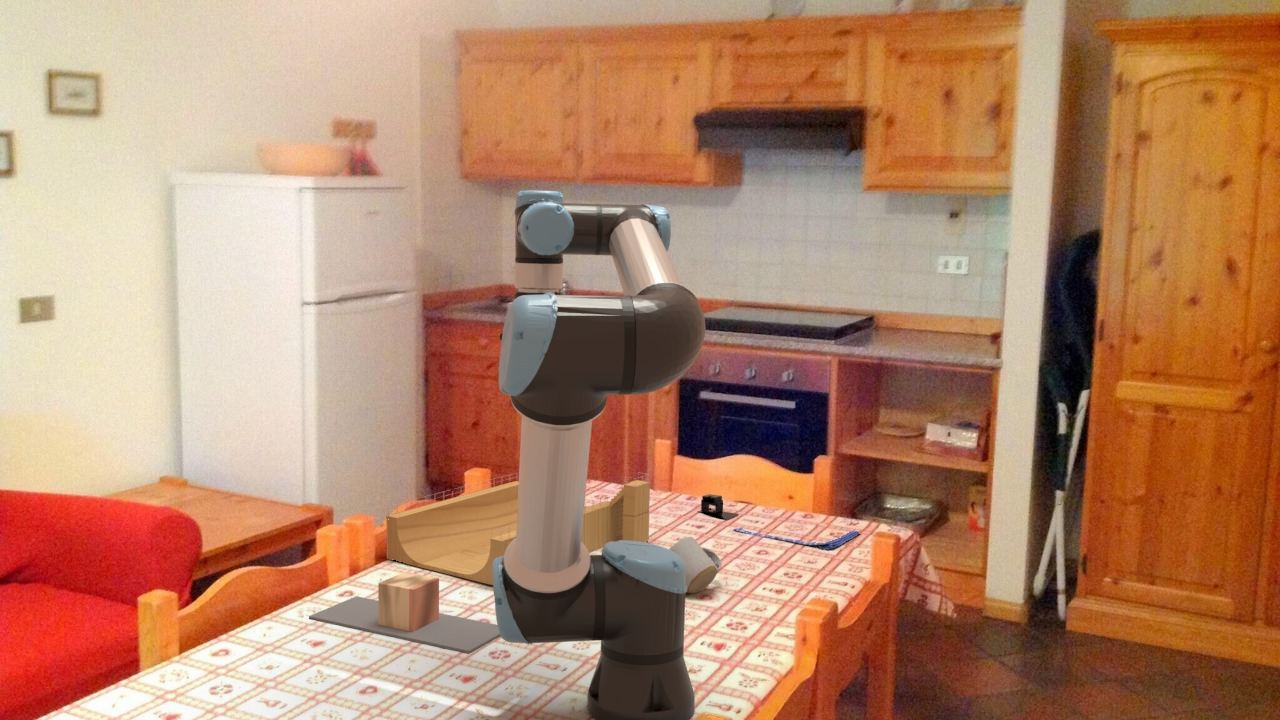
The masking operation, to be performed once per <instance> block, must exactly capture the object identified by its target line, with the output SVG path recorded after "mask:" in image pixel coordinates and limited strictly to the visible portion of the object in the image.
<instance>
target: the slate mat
mask: <svg viewBox="0 0 1280 720" xmlns="http://www.w3.org/2000/svg"><path fill="white" fill-rule="evenodd" d="M308 619H310V620H314V621H319V622H323V623H328V624H332V625H337V626H342V627H346V628H350V629H351V628H352V629H356V630H360V631H365V632H369V633H375V634H377V635H382V636H388V637H391V638H392V637H393V638H397V639H402V640H406V641H410V642H414V643H419V644H423V645H429V646H433V647H439V648H443V649H448V650H452V651H456V652H461V653H466V654H471V653H473V652H474V651H476V650H478V649H480V648H481V647H483V646H485V645H487V644H488V643H490V642H492V641H494V640H495V639H497V638H499V637H501V636H500V634H499V630H498V625H497V624H495V623H491V622H485V621H480V620H475V619H471V618H465V617H461V616H460V617H459V616H455V615H451V614H447V613H446V614H445V613H441V612H439V619H438V620H436V621H434V622H432V623H430V624H428V625H426V626H424V627H422V628H420V629H418V630H416V631H414V632H411V631H407V630H402V629H397V628H393V627H388V626H383V625H378V600H377V599H373V598H367V597H361V596H359V595H358V596H357V595H356V596H354V597H351V598H349V599H347V600H344V601H342V602H339V603H338V604H334V605H333V606H330V607H328V608H327V607H326V608H325V609H323V610H321V611H317V612H315V613H313V614H311V615H308Z"/></svg>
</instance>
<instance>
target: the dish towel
mask: <svg viewBox="0 0 1280 720" xmlns="http://www.w3.org/2000/svg"><path fill="white" fill-rule="evenodd" d="M732 531H733V532H738V533H741V534H746V535H749V536H754V537H760V538H765V539H770V540H779V541H783V542H788V543H792V544H799V545H801V546H807V547H811V548H816V547H817V548H818V549H817V548H816V549H817V550H823V549H825V550H824V551H829V550H833V549H832V548H834V549H835V548H837V547H840V546H842V545H843V543H844V544H845V543H847V542H848V540H849V541H850V539H851V540H852V539H854V538H856V537H857V535H858V534H859V532H860V531H858V530H852V531H851V530H849V531H850V532H849V533H847V534H846V535H844V536H842V537H841V538H838V537H837V538H838V539H835V538H834V539H835V540H833V539H831V540H832V541H830V540H828V542H827V541H824V542H825V543H823V542H818V543H816V541H810V542H809V541H802V540H799V539H791V538H788V537H787V538H786V537H780V536H773V535H771V534H770V535H769V534H761V533H758V532H751V531H749V530H745V529H743V527H740V528H733V529H732ZM855 536H856V537H855ZM858 536H859V535H858ZM846 541H847V542H846Z"/></svg>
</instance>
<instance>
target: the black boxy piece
mask: <svg viewBox="0 0 1280 720" xmlns="http://www.w3.org/2000/svg"><path fill="white" fill-rule="evenodd" d="M700 505H701V507H700V510H699V511H697V513H699V514H701V515H704V516H707V517H711V518H713V519H714V518H715V519H718V520H722V521H729V520H733V519H735V518H737V517H739V515H740V514H739V513H736V512H728V511H724V500H723V496H722V495H719V494H712V493H711V494H710V493H709V494H705V495H702V497H701V500H700ZM710 506H712V507H714V508H712V507H710Z"/></svg>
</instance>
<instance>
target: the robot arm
mask: <svg viewBox="0 0 1280 720" xmlns="http://www.w3.org/2000/svg"><path fill="white" fill-rule="evenodd" d="M515 198H516V199H515V209H514V216H515V223H514V224H515V227H514V228H515V230H514V232H515V233H514V234H515V235H514V238H515V239H514V240H515V241H514V243H515V244H514V245H515V252H514V253H515V258H514V288H515V289H517V291H516V292H515V293H514V294H513V295H514V297H513V298H514V299H513V301H511V303H510V305H509V307H508V309H507V312H506V315H505V320H504V325H503V329H502V332H501V333H500V334H499V340H500V341H501V342H500V343H501V344H500V355H499V363H498V388H499V389H500V390H499V391H500V392H501V394H503V395H508V396H509V398H510V402H511V404H512V406H513V408H514V409H515V410H516V412H517V413H518V414H519V415H520V416H521V423H520V424H521V427H520V429H521V430H520V448H519V449H520V450H519V467H518V469H519V470H518V471H519V472H518V482H519V488H518V509H517V530H516V538H515V539H514V540H512V542H511V543H510V544H509V545H508V547H507V549H506V551H505V554H504V556H501V557H498V558H495V559H494V561H493V566H492V572H493V585H492V587H493V588H492V589H493V596H494V609H495V618H496V623H497V624H496V625H498V630H499V634H500V636H499V637H501V638H502V639H503V641H505V642H507V643H512V644H513V643H514V644H527V645H533V644H546V643H547V644H548V643H549V644H550V643H568V642H592V641H594V642H596V641H600V656H599V658H598V662H597V664H596V666H595V670H594V672H593V675H592V678H591V681H590V683H589V686H588V689H587V697H586V700H587V701H586V710H587V712H588V714H589V716H590V717H591V718H593V719H594V720H690V719H692V717H693V716H694V715H695V702H696V701H695V698H696V696H695V691H694V688H693V684H692V682H691V678H690V675H689V672H688V668H687V665H686V661H685V657H684V650H685V649H684V648H685V647H684V644H685V622H686V621H685V615H686V613H685V612H686V593H688V592H687V587H686V575H685V564H684V562H683V560H682V559H681V557H680V556H679V555H678V554H676V553H675V552H673V551H671V550H669V549H670V548H667V547H664V546H661V545H658V544H654V543H650V542H648V543H646V541H645V542H639V541H628V540H623V539H622V540H619V541H616V542H613V541H612V542H608V543H606V544H605V545H604V547H603V548H601V554H590V553H589V552H588V550H587V548H586V546H585V545H584V544H583V543H582V542H581V536H582V525H583V515H584V508H585V505H586V502H585V501H586V494H587V493H586V492H587V480H588V469H589V458H590V450H591V449H590V448H591V438H592V437H591V436H592V427H593V425H592V424H593V421H594V420H595V419H597V418H598V417H599V416H600V415H601V414H602V413H604V410H605V409H606V406H607V402H608V396H613V395H614V396H616V395H617V396H618V395H622V396H624V395H626V396H627V395H643V394H649V393H653V392H657V391H659V390H661V389H663V388H665V387H667V386H669V385H671V384H672V383H674V382H675V381H677V380H678V379H679V378H681V377H682V376H683V375H684V374H685V373H686V372H687V371H688V370H689V369H690V368H691V366H692V365H693V364H694V362H695V361H696V360H697V358H698V357H699V355H700V353H701V349H702V346H703V344H704V341H705V336H706V320H705V319H706V317H705V313H704V311H703V309H702V307H701V305H700V302H699V300H698V298H697V296H696V295H695V294H694V293H693V292H692V291H691V290H690V289H689V288H687V287H686V286H684V285H682V282H681V280H680V278H679V275H678V274H677V272H676V269H675V267H674V264H673V263H672V261H671V257H670V255H669V254H668V252H669V249H670V245H671V237H672V236H671V235H672V229H671V228H672V226H671V225H672V224H671V219H670V217H671V216H670V212H669V211H668V209H667V208H665V207H663V206H661V205H660V206H657V205H651V204H650V205H649V204H646V203H644V204H642V203H641V204H615V203H614V204H612V203H611V204H610V203H608V204H605V203H604V204H603V203H602V204H601V203H581V202H580V203H576V202H575V203H574V202H573V203H572V202H571V203H570V202H565V197H564V194H563V193H562V192H560V191H555V190H537V189H536V190H531V189H530V190H520V191H519V192H517V194H516V197H515ZM564 255H568V256H569V255H571V256H572V255H574V256H575V255H576V256H578V255H579V256H581V255H583V256H611V257H612V260H613V263H614V266H615V267H614V268H615V270H616V273H617V276H618V279H619V282H620V286H621V289H622V292H623V295H615V294H614V295H612V294H611V295H609V294H608V295H605V294H603V295H600V294H599V295H598V294H597V295H596V294H593V295H592V294H590V295H589V294H573V295H572V294H562V292H560V290H561V289H562V288H563V285H564V283H563V281H564V277H563V276H564Z"/></svg>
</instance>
